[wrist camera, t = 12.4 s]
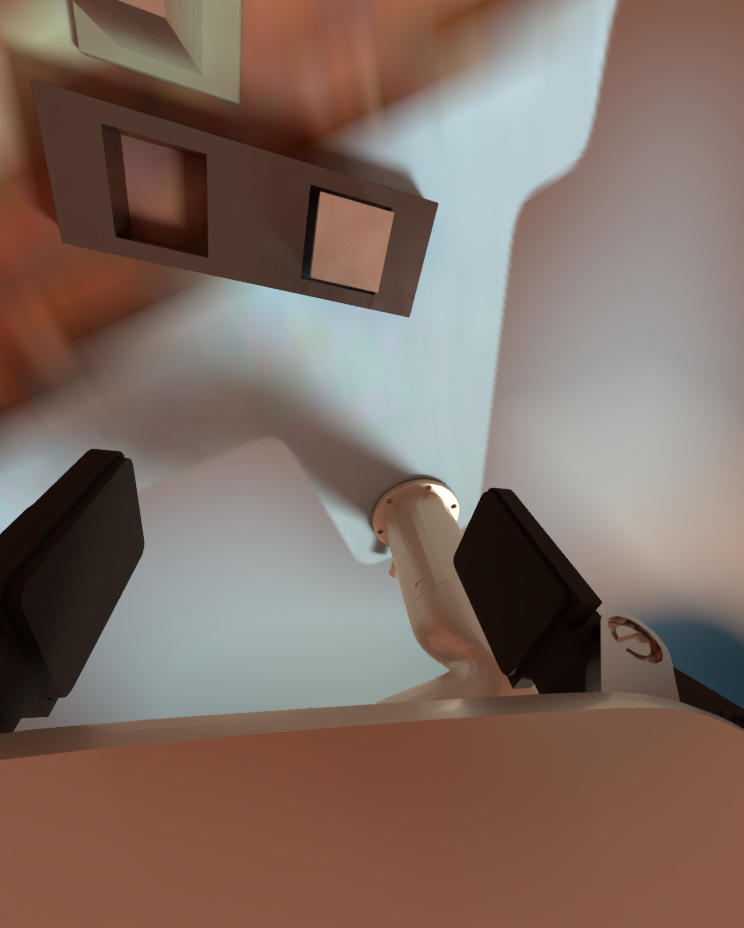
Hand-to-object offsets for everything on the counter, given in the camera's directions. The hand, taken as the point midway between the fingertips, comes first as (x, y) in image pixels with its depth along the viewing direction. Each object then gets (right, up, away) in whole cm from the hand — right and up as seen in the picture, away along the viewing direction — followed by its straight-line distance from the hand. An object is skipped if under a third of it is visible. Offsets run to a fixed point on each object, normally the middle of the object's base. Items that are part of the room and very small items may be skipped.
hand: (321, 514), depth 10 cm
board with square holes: (-8, +22, +21) cm, 31 cm away
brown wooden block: (-1, +21, +22) cm, 31 cm away
